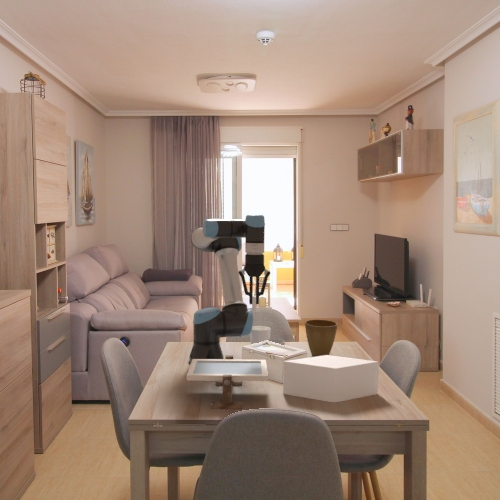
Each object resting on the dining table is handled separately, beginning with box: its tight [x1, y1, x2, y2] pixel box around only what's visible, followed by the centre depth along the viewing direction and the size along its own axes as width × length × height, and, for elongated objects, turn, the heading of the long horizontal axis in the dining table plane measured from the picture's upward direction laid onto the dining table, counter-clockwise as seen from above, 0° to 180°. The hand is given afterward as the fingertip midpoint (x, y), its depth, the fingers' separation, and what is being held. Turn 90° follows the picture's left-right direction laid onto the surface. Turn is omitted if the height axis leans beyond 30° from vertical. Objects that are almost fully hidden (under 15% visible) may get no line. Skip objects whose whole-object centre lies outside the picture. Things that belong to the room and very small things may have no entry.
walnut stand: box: [211, 354, 243, 410], centre depth 190 cm, size 10×27×11 cm, turn 1°
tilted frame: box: [186, 358, 269, 382], centre depth 190 cm, size 28×21×2 cm
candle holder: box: [249, 325, 271, 345], centre depth 248 cm, size 10×10×12 cm
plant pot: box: [304, 319, 338, 357], centre depth 242 cm, size 15×15×16 cm
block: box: [282, 354, 379, 403], centre depth 193 cm, size 18×35×12 cm, turn 92°
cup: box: [268, 338, 286, 346], centre depth 231 cm, size 8×8×10 cm
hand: (254, 312), depth 210 cm, fingers closed
